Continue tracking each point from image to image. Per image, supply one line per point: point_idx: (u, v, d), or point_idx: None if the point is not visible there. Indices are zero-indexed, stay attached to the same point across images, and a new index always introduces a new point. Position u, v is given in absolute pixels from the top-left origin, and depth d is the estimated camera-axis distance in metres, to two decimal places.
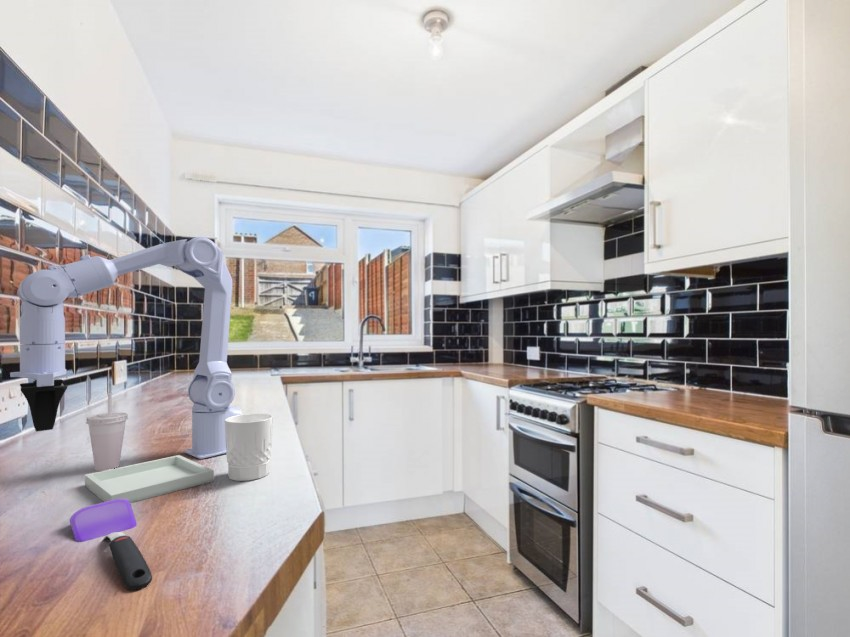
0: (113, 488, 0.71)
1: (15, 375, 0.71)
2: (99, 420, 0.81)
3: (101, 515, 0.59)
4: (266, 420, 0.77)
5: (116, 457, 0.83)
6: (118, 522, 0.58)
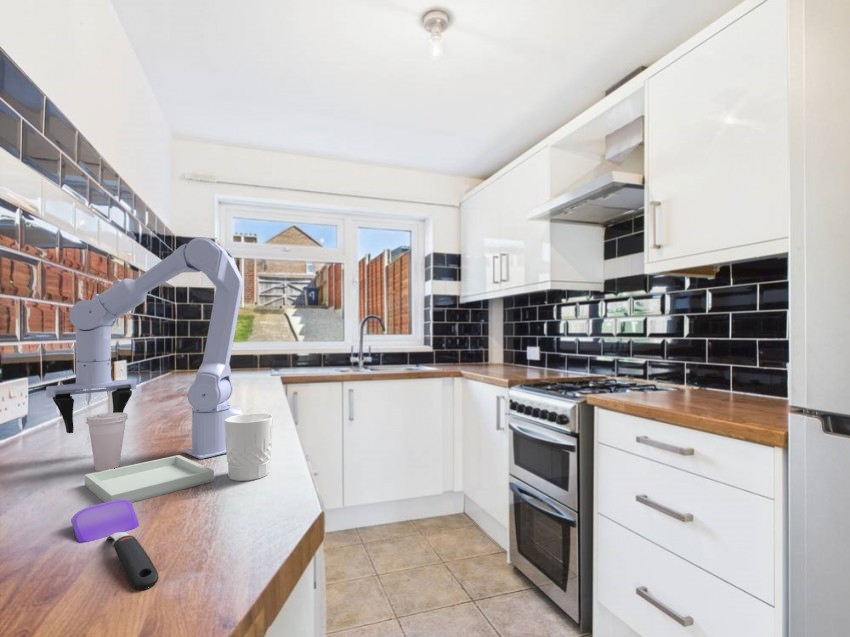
0: (113, 488, 0.71)
1: None
2: (99, 420, 0.81)
3: (102, 515, 0.59)
4: (266, 420, 0.77)
5: (116, 457, 0.83)
6: (120, 522, 0.58)
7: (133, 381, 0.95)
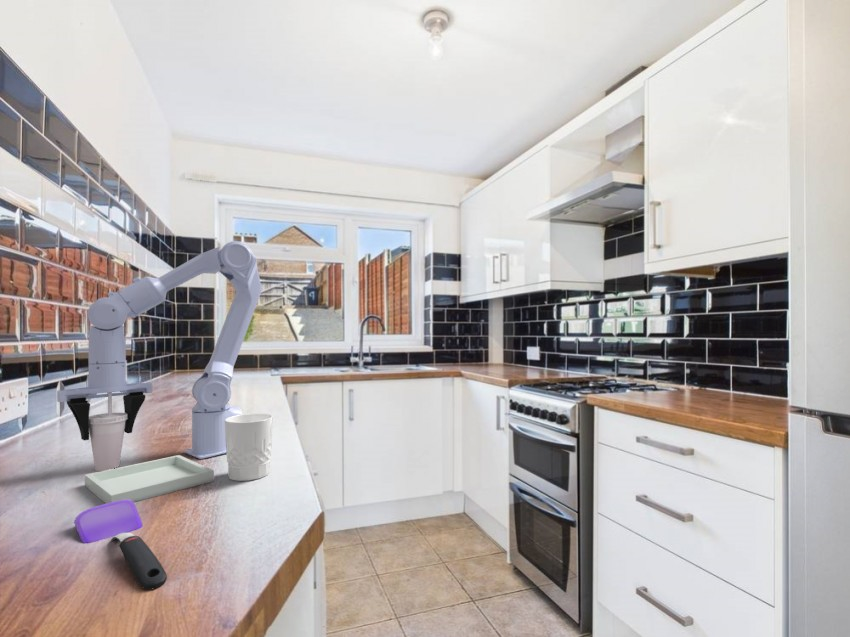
0: (113, 488, 0.71)
1: None
2: (99, 420, 0.81)
3: (106, 516, 0.59)
4: (266, 420, 0.77)
5: (116, 456, 0.83)
6: (124, 523, 0.58)
7: (149, 384, 0.88)
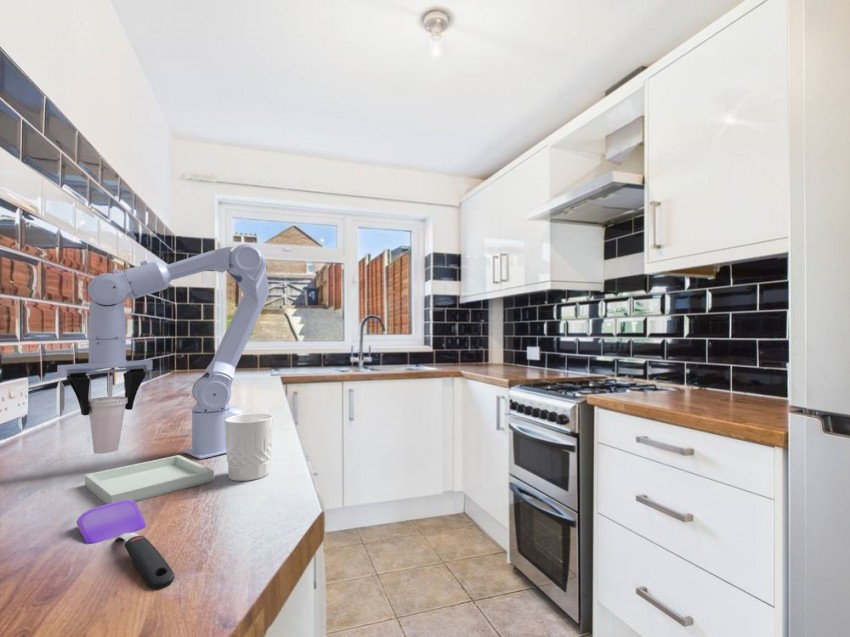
0: (113, 488, 0.71)
1: None
2: (99, 402, 0.81)
3: (108, 516, 0.59)
4: (266, 420, 0.77)
5: (115, 440, 0.83)
6: (127, 523, 0.58)
7: (149, 362, 0.89)
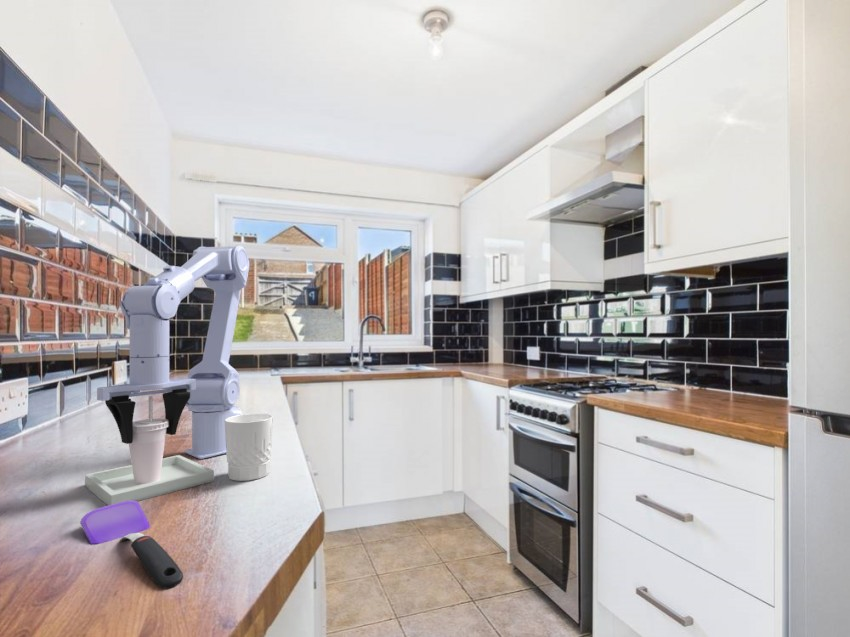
0: (113, 488, 0.71)
1: None
2: (143, 427, 0.73)
3: (112, 517, 0.58)
4: (266, 420, 0.77)
5: (159, 467, 0.75)
6: (131, 524, 0.58)
7: (192, 380, 0.80)
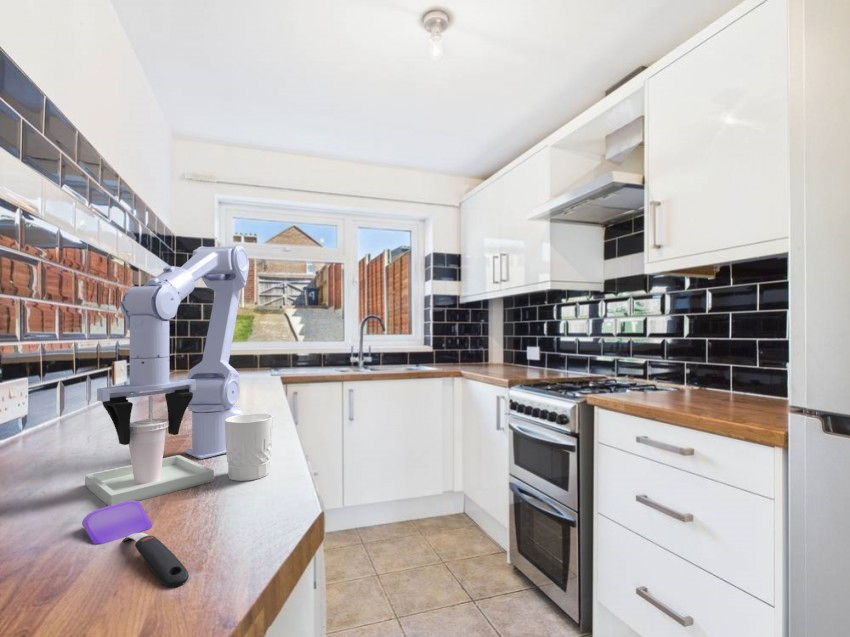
0: (113, 488, 0.71)
1: None
2: (143, 427, 0.73)
3: (114, 517, 0.58)
4: (266, 420, 0.77)
5: (159, 467, 0.75)
6: (133, 524, 0.58)
7: (192, 381, 0.80)
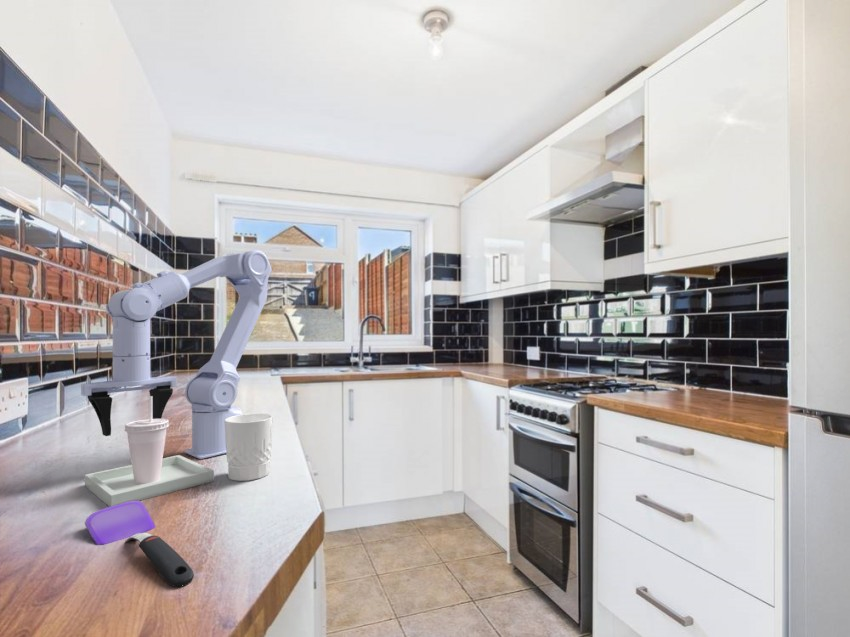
0: (113, 488, 0.71)
1: None
2: (143, 427, 0.73)
3: (116, 517, 0.58)
4: (266, 420, 0.77)
5: (159, 467, 0.75)
6: (136, 524, 0.58)
7: (173, 378, 0.86)
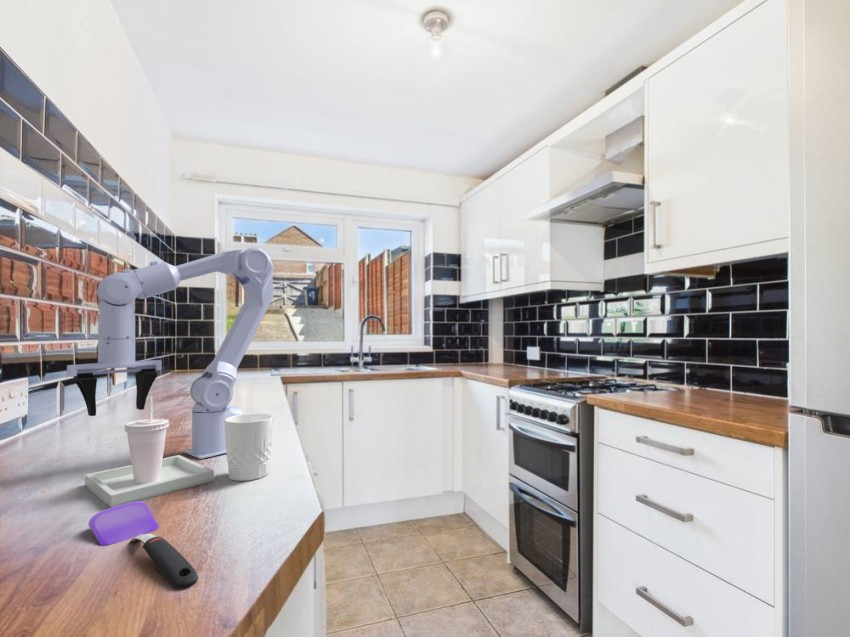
0: (113, 488, 0.71)
1: None
2: (143, 427, 0.73)
3: (120, 518, 0.58)
4: (266, 420, 0.77)
5: (159, 467, 0.75)
6: (140, 525, 0.58)
7: (158, 362, 0.88)
